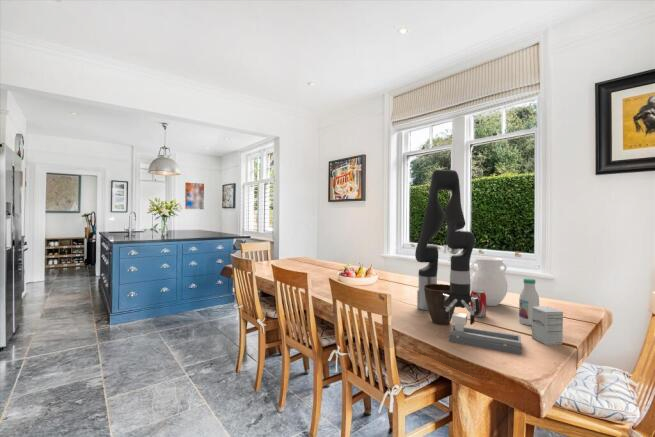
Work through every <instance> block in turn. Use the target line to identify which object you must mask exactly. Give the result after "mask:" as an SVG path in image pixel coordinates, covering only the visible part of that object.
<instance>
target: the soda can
mask: <svg viewBox="0 0 655 437" xmlns="http://www.w3.org/2000/svg"><path fill="white" fill-rule="evenodd" d="M470 296H471V298H477V297H478V298H479V305H480V313H479V314H476V315H475V318H484V317H485V316H486V315H487V306H486V294H485V291H483V290H472V292H471V291H470ZM469 304H470V306H471V307H472V309H473V310H474V311H475V310H476V305H475V304H474V303H473V301H471V302H470V303H469Z"/></svg>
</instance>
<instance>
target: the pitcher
mask: <svg viewBox="0 0 655 437" xmlns="http://www.w3.org/2000/svg"><path fill="white" fill-rule="evenodd" d="M475 264H476V265H477V268H475V266H474V265H475ZM470 266H471V268H472V270H473V273H472V275H471V276H470V279H471V282H470V293H471V292H472V290H483V291H485V294H486V307H487V306H488V307H497V306H499V305H500V303H502V301H503V300H504V299H505V297H506V296H507V293H508V287H509V286H508V280H507V278H506V276H505V274H506V271H507V265H506V264H505V263H504V259H503V258H500V257H492V256H491V257H490V256H478V257H475V261H472V262H471V264H470ZM502 266H503V267H504V268H503V269H501V267H502Z"/></svg>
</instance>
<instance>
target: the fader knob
mask: <svg viewBox="0 0 655 437" xmlns="http://www.w3.org/2000/svg"><path fill="white" fill-rule="evenodd" d="M467 323H468V314H467V313H461V312H455V311H454V313H453V315H452V319H451V324H452V325H455V331H461V332H464V326H467Z"/></svg>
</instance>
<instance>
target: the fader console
mask: <svg viewBox="0 0 655 437" xmlns="http://www.w3.org/2000/svg"><path fill="white" fill-rule="evenodd" d="M448 342H452V343H455V344H456V343H457V344H461V345H467V346H470V347H471V346H473V347H477V348H484V349H488V350H493V351H501V352H506V353H509V354H516V355H517V354H518V355H522V337H521V335H520V334H515V333H511V332H509V333H508V332H501V331H496V330H489V329H483V328H482V329H481V328H476V327H471V326H466V325H464V332H461V331H455V324H452V325H451V328H450V330H449V336H448Z"/></svg>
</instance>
